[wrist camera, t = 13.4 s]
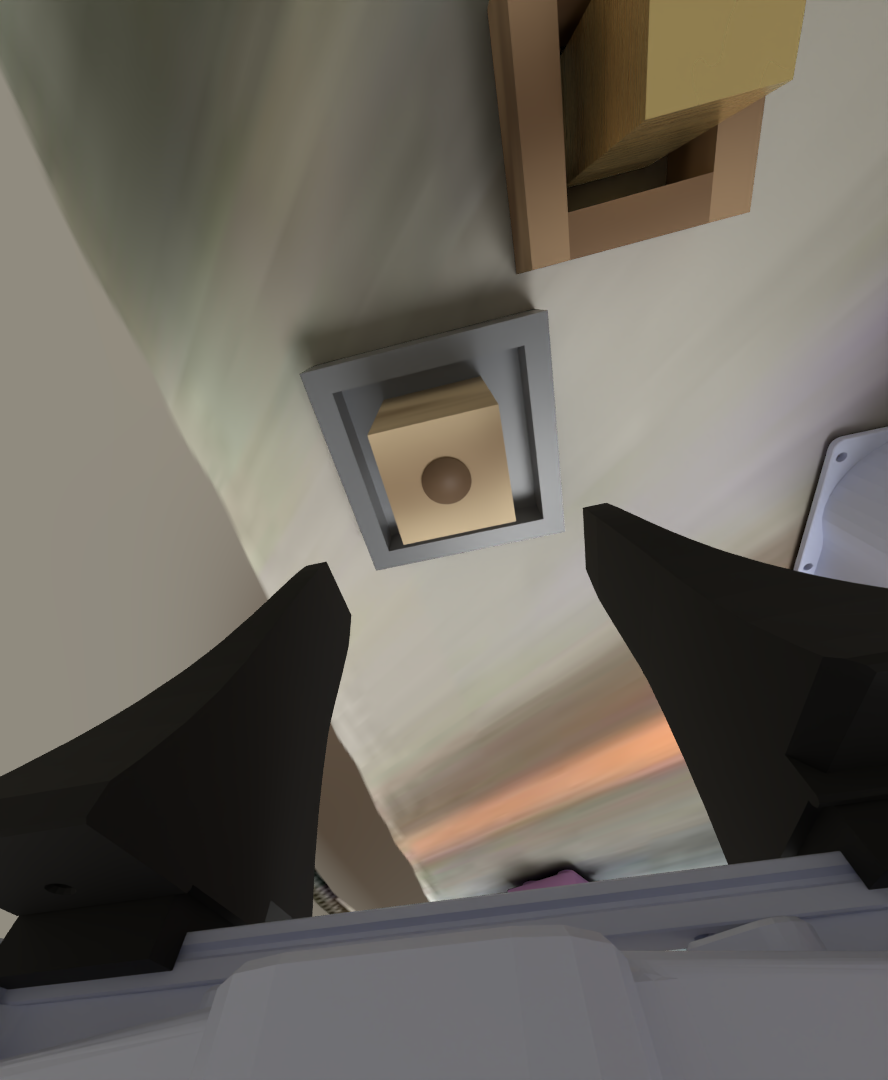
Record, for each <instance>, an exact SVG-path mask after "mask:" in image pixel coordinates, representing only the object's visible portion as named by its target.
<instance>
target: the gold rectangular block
mask: <svg viewBox="0 0 888 1080" xmlns="http://www.w3.org/2000/svg"><path fill="white" fill-rule="evenodd" d="M805 5H806V0H591V2H590V4H589V5H588V7H587V9H586V11H585V13H584V15H583V17H582V18H581V20H580V22H579V24H578V26H577V28H576V29H575V31H574V33H573V35H572V37H571V39H570V40H569V42H568V44H567V46H566V48H565V50H564V51H563V53H562V55H561V57H560V71H561V90H562V110H563V129H564V149H565V168H566V188H569V187H573V186H576V185H580V184H584V183H588V182H591V181H595V180H599V179H603V178H607V177H610V176H614V175H618V174H622V173H625V172H629V171H633V170H637V169H640V168H644V167H647V166H649V165H651V164H652V163H654V162H656V161H657V160H659V159H661V158H662V157H664V156H666V155H667V154H669V153H671V152H672V151H674V150H676V149H677V148H679V147H681V146H682V145H684V144H686V143H687V142H689V141H691V140H692V139H694V138H696V137H697V136H699V135H701V134H702V133H704V132H706V131H707V130H709V129H711V128H712V127H714V126H716V125H717V124H719V123H721V122H722V121H724V120H726V119H727V118H729V117H731V116H732V115H734V114H736V113H737V112H739V111H741V110H742V109H744V108H746V107H747V106H749V105H751V104H752V103H754V102H756V101H757V100H759V99H761V98H762V97H764V96H766V95H767V94H769V93H771V92H772V91H774V90H776V89H777V88H779V87H781V86H782V85H784V84H786V83H787V82H789V81H791V80H792V79H793V75H794V70H795V64H796V58H797V52H798V46H799V40H800V34H801V28H802V22H803V16H804V11H805Z"/></svg>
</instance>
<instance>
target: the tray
mask: <svg viewBox="0 0 888 1080" xmlns="http://www.w3.org/2000/svg"><path fill="white" fill-rule="evenodd" d="M300 376H301V379H302V382H303V384H304V387H305V389H306V392H307V394H308V397H309V399H310V402H311V405H312V407H313V410H314V412H315V415H316V417H317V420H318V423H319V425H320V428H321V430H322V433H323V435H324V438H325V441H326V443H327V446H328V448H329V451H330V453H331V456H332V458H333V461H334V464H335V466H336V469H337V471H338V474H339V476H340V479H341V482H342V484H343V487H344V489H345V492H346V494H347V497H348V500H349V502H350V505H351V507H352V510H353V512H354V515H355V517H356V520H357V523H358V525H359V528H360V530H361V533H362V535H363V538H364V541H365V543H366V546H367V548H368V551H369V553H370V556H371V559H372V561H373V564H374V566H375V569H376V571H377V570H382V569H386V568H391V567H396V566H401V565H406V564H411V563H416V562H421V561H425V560H430V559H435V558H440V557H445V556H450V555H455V554H459V553H464V552H469V551H474V550H479V549H484V548H489V547H494V546H498V545H503V544H508V543H513V542H518V541H523V540H528V539H532V538H537V537H542V536H547V535H552V534H557V533H562V532H565V524H564V511H563V499H562V486H561V474H560V461H559V448H558V436H557V423H556V411H555V398H554V385H553V373H552V360H551V348H550V335H549V322H548V310H539V309H533V310H529V311H525V312H521V313H517V314H513V315H509V316H506V317H502V318H498V319H494V320H490V321H486V322H482V323H478V324H475V325H471V326H467V327H463V328H459V329H455V330H451V331H447V332H444V333H440V334H436V335H432V336H428V337H424V338H420V339H416V340H413V341H409V342H405V343H401V344H397V345H393V346H389V347H385V348H382V349H378V350H374V351H370V352H366V353H362V354H358V355H354V356H351V357H347V358H343V359H339V360H335V361H331V362H327V363H323V364H320V365H316V366H313V367H311V368H309V369H308V370H306V371H304V372H302V373H301V374H300ZM479 376H481V378H482V379H483V381H484V382H485V384H486V385H487V387H488V389H489V390H490V392H491V393H492V395H493V396H494V398H495V400H496V401H497V403H498V404H499V411H500V418H501V424H502V431H503V438H504V444H505V451H506V457H507V464H508V471H509V477H510V484H511V490H512V497H513V504H514V510H515V517H516V521H515V522H510V523H506V524H501V525H496V526H491V527H487V528H482V529H477V530H472V531H468V532H463V533H458V534H453V535H448V536H444V537H439V538H434V539H429V540H425V541H420V542H415V543H410V544H406V545H404V544H403V541H402V538H401V535H400V532H399V529H398V526H397V523H396V520H395V517H394V514H393V511H392V508H391V505H390V502H389V499H388V496H387V493H386V490H385V487H384V484H383V481H382V478H381V475H380V472H379V469H378V466H377V463H376V460H375V457H374V454H373V451H372V448H371V445H370V442H369V439H368V436H367V435H368V433H369V431H370V429H371V426H372V424H373V422H374V420H375V418H376V416H377V413H378V411H379V409H380V407H381V405H382V402H383V400H385V399H389V398H394V397H398V396H402V395H406V394H410V393H414V392H418V391H422V390H426V389H430V388H434V387H438V386H442V385H446V384H451V383H455V382H459V381H463V380H467V379H471V378H475V377H479Z"/></svg>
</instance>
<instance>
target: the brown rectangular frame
mask: <svg viewBox="0 0 888 1080" xmlns="http://www.w3.org/2000/svg"><path fill="white" fill-rule="evenodd" d="M590 2H591V0H489V4H488V9H487V12H488V21H489V30H490V39H491V48H492V57H493V66H494V75H495V84H496V93H497V102H498V111H499V120H500V129H501V138H502V147H503V156H504V165H505V174H506V183H507V192H508V201H509V210H510V219H511V228H512V237H513V246H514V255H515V264H516V273H517V274H520V273H524V272H527V271H531V270H535V269H538V268H542V267H546V266H550V265H553V264H557V263H561V262H565V261H568V260H572V259H576V258H580V257H583V256H587V255H591V254H594V253H598V252H602V251H606V250H609V249H613V248H617V247H621V246H624V245H628V244H632V243H635V242H639V241H643V240H647V239H650V238H654V237H658V236H662V235H665V234H669V233H673V232H676V231H680V230H684V229H688V228H691V227H695V226H699V225H703V224H706V223H710V222H714V221H717V220H721V219H725V218H729V217H732V216H736V215H740V214H743V213H747V212H750V206H751V199H752V191H753V184H754V177H755V169H756V162H757V154H758V147H759V139H760V132H761V125H762V117H763V110H764V102H765V96H764V97H762V98H761V99H759V100H757V101H756V102H754V103H752V104H751V105H749V106H747V107H746V108H744V109H742V110H741V111H739V112H737V113H736V114H734V115H732V116H731V117H729V118H727V119H726V120H724V121H722V122H721V123H719V124H717V125H716V126H714V127H712V128H711V129H709V130H707V131H706V132H704V133H702V134H701V135H699V136H697V137H696V138H694V139H692V140H691V141H689V142H687V143H686V144H684V145H682V146H681V147H679V148H677V149H676V150H674V151H672V152H671V153H669V154H668V161H667V182H666V185H665V186H662V187H658V188H654V189H651V190H647V191H644V192H640V193H636V194H633V195H629V196H626V197H622V198H619V199H615V200H611V201H608V202H604V203H601V204H597V205H593V206H590V207H586V208H583V209H579V210H576V211H572V212H568V207H567V188H566V168H565V149H564V129H563V110H562V90H561V71H560V51H559V47H562V46H566V45H567V44H568V42H569V40H570V39H571V37H572V35H573V33H574V31H575V29H576V28H577V26H578V24H579V22H580V20H581V18H582V17H583V15H584V13H585V11H586V9H587V7H588V5H589V4H590Z"/></svg>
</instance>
